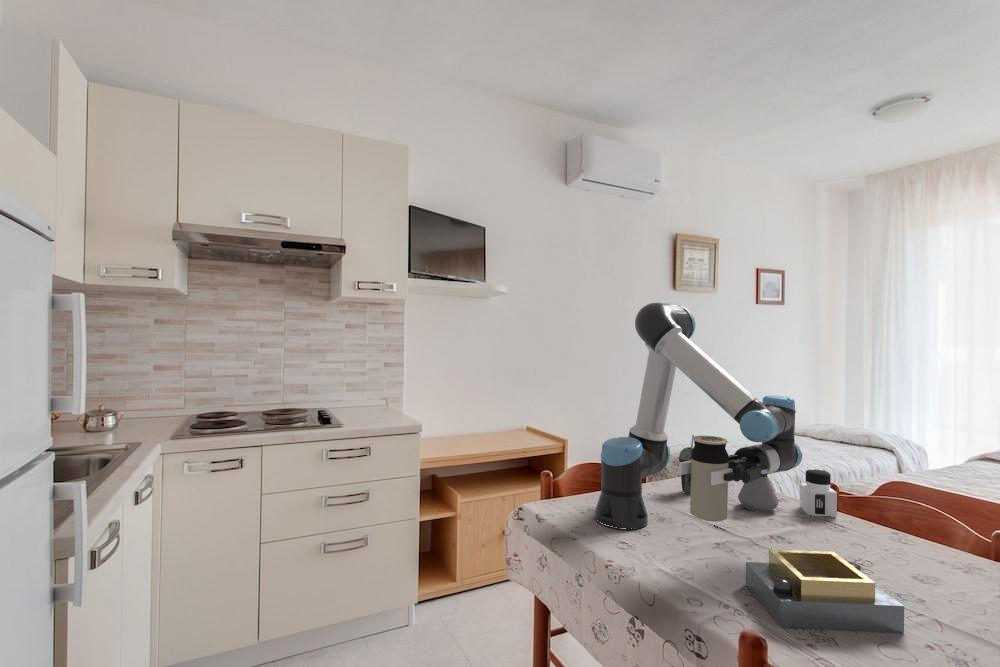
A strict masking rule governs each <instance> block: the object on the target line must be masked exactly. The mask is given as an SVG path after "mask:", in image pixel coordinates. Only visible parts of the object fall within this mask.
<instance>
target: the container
mask: <svg viewBox="0 0 1000 667" xmlns="http://www.w3.org/2000/svg"><path fill="white" fill-rule="evenodd" d="M831 477H832V476H831V473H830V472H828V471H826V470H823V469H819V468H809V469H806V470H805V483H802V482H800V483H799V508H800V509H801V508H802V511H804V512H805V513H806V514H807V515H808V516H810V515H812V516H811V517H823V516H832V517H831V518H837V515H838V513H837V512H838V510H837V509H838V492H837V491H836V490H834V489H833V488H831V479H832V478H831ZM801 501H802V502H801Z"/></svg>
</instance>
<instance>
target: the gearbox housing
mask: <svg viewBox="0 0 1000 667" xmlns="http://www.w3.org/2000/svg"><path fill="white" fill-rule="evenodd" d="M861 568H862V567H861V565H860V564H859V563H856V562H854V561H847V560H845V559H844V558H843V557H842V556H839V554H837V553H836V552H834V551H825V550H823V551H822V550H798V549H797V550H796V549H793V550H792V549H771V548H770V549H769V548H768V562H758V561H756V562H754V561H751V562H750V561H745V587H747V588H748V589H749V591H750V590H751V591H750V592H751V593H752V594H753V596H756V597H757V598H756V597H755V598H756V599H757V601H758V602H759V603H760V602H761V603H760V604H761V605H762V607H763V608H764V607H765V608H766V609H765V608H764V609H765V611H767V612H768V614H769V613H770V614H771V615H770V614H769V615H770V616H771V617H772V619H775V620H776V621H775V620H774V621H775V622H776V623H777V625H780V626H781V627H780V626H779V627H780V628H785V627H797V628H796V629H811V630H831V631H832V630H833V631H834V630H835V631H850V630H854V631H853V632H855V631H856V632H872V631H881V632H880V633H894V632H904V633H905V605H903V603H901V602H899V601H898V600H897V599H896V598H894V597H893V596H891V595H890V594H889V593H887V592H886V591H885V590H883V589H882V588H881V587H880V586H878V585H877V584H876V582H875V581H874V580H872V579H871V578H869V577H868V576H867V575H866V574H864V573H863V572H862V571H861V570H862V569H861ZM782 626H783V627H782Z"/></svg>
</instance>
